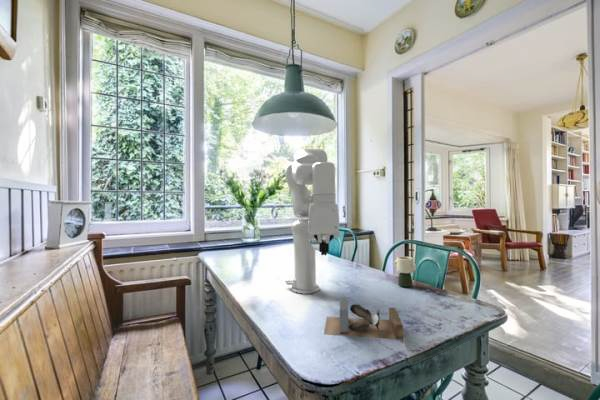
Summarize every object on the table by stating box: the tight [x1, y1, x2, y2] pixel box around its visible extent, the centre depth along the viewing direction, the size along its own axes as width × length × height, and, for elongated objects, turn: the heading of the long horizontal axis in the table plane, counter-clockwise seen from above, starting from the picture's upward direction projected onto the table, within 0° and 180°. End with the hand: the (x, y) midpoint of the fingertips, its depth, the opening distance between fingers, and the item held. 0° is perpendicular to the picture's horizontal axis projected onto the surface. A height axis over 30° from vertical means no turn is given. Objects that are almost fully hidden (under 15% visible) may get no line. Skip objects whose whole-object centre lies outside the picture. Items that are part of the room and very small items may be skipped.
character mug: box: [394, 256, 417, 287], centre depth 127 cm, size 11×7×13 cm, turn 35°
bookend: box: [339, 297, 349, 334], centre depth 85 cm, size 2×10×7 cm, turn 170°
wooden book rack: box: [323, 307, 404, 344], centre depth 84 cm, size 22×12×6 cm, turn 80°
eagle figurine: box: [349, 303, 382, 330], centre depth 84 cm, size 8×7×9 cm
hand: (324, 254), depth 92 cm, fingers closed
